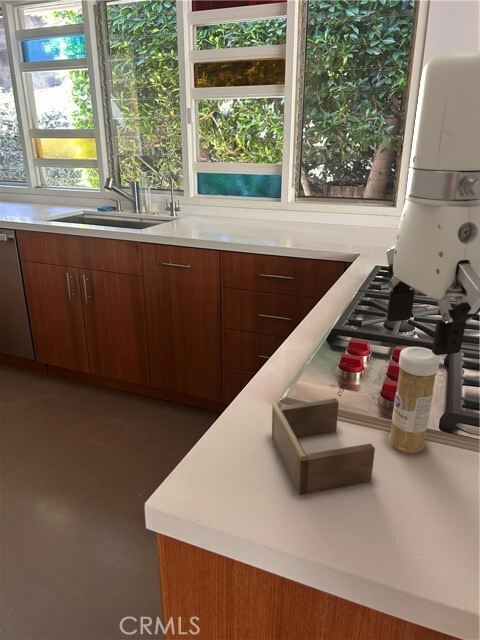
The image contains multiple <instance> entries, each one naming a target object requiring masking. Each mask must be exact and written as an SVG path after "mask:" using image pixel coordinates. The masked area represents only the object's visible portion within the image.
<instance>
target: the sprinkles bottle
mask: <svg viewBox="0 0 480 640" xmlns="http://www.w3.org/2000/svg"><path fill="white" fill-rule="evenodd" d="M398 359H399V360H398V367H399V371H398V372H399V373H398V378H397V379H398V380H397V386H396V390H395V391H396V392H395V397H394V402H393V409H392V410H393V411H392V416H391V421H392V422H391V427H390V434H389V436H388V441H389V444H390V445H391V446H392V447H393V448H394V449H395V450H397V451H398V452H402V453H405V454H417V453H420V452H422V451H423V450H424V449H425V439H426V433H427V429H428V425H429V419H430V413H431V408H432V404H433V403H432V402H433V396H434V386H435V381H436V376H437V374H438V372H439V367H440V361H441V360H440V359H441V358H440V355H435V354H434V353H432V349H429V348H427V347H421V346H408V347H405V348H402V350H401V351H400V353H399V358H398Z"/></svg>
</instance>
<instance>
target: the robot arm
mask: <svg viewBox="0 0 480 640" xmlns="http://www.w3.org/2000/svg"><path fill="white" fill-rule="evenodd" d="M412 138H413V139H412V146H411V154H410V162H409V168H408V175H407V182H406V191H405V197H404V200H405V202H404V203H403V204H404V205H403V207H402V212H401V215H400V218H399V219H400V220H399V225H398V230H397V234H396V240H395V244H394V246H393V247H391V248H389V249H387V251H386V258H387V259H386V260H387V269H386V272H387V274H388V277H389V281H388V283H387V286H388V289H389V295H388V303H387V309H386V310H387V311H386V320H387V321H388V322H400V321H401V322H402V321H409V320H411V319H412V313H413V308H414V300H415V293H416V291H418V292H420V293H422V294H424V295H425V296H427V297H429V298H432V299H433V300H436V303H437V305H438V309H439V313H440V316H441V319H437V320H436V324H435V330H434V335H433V341H432V346H431V350H432V353H434V354H435V355H438V356H443V355H451V354H458V353H460V352H461V349H462V344H463V340H464V335H465V329H466V324H467V322H471V321H472V319H473V317H474V316H477V314H479V313H480V49H472V50H471V49H469V50H457V51H449V52H444V53H439V54H437V55H435V56H433V57H431V59H428V61H427V62H426V64H425V65H424V67H423V69H422V74H421V78H420V85H419V93H418V101H417V108H416V116H415V123H414V131H413V137H412ZM450 301H455V304H456V306H455V307H453V308H452V306H451V303H450Z"/></svg>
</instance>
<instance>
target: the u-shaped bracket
mask: <svg viewBox="0 0 480 640" xmlns="http://www.w3.org/2000/svg"><path fill="white" fill-rule="evenodd" d="M271 405H272V409H271V439H272V441H273V443H274V445H275V447H276V450H277V451H278V454H279V456H280V458H281V460H282V462H283V464H284V466H285V468H286V471H287V473H288V475H289V477H290V479H291V482H292V483H293V486H294V488H295V489H296V492H297V494H298V496H304V495H308V494H314V493H319V492H325V491H331V490H335V489H341V488H347V487H351V486H357V485H358V486H359V485H362V484H368V483H372V477H373V470H374V469H373V468H374V459H375V451H376V448H375V447H374V445H373V444H372V443H371V442H370V443H365V444H359V445H358V444H357V445H354V446H353V445H352V446H347V447H341V448H335V449H330V450H329V449H328V450H323V451H318V452H311V453H306V452H305V450H304V448H303V446H302V444H301V443H300V441H299V439H302V438H308V437H309V438H310V437H315V436H321V435H328V434H334V433H337V429H338V415H339V414H338V413H339V400H338V399H337V398H330V399H328V398H327V399H323V400H322V399H321V400H316V401H308V402H302V403H301V402H300V403H294V404H287V405H281V406H280V405H278V402H273V403H272V404H271Z"/></svg>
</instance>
